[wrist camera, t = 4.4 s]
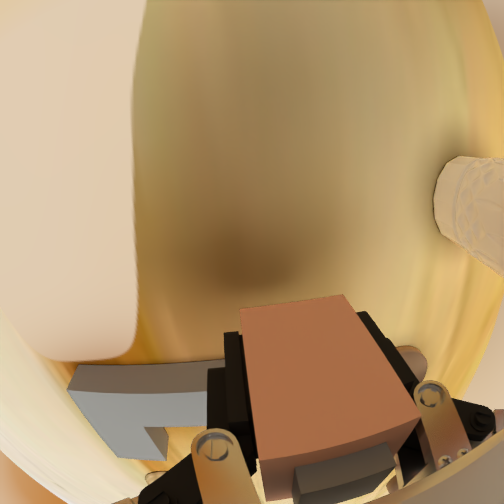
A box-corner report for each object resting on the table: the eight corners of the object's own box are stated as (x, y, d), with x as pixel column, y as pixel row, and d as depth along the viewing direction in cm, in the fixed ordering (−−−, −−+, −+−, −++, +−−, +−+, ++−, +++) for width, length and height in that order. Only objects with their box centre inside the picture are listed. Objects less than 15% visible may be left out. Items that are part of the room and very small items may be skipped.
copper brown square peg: (239, 309, 10) (263, 490, 4) (343, 294, 10) (435, 438, 4) (248, 379, 12) (269, 520, 6) (333, 365, 12) (387, 490, 6)
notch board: (280, 351, 19) (289, 380, 17) (282, 426, 23) (288, 450, 20) (78, 364, 18) (66, 389, 15) (122, 434, 22) (117, 457, 19)
